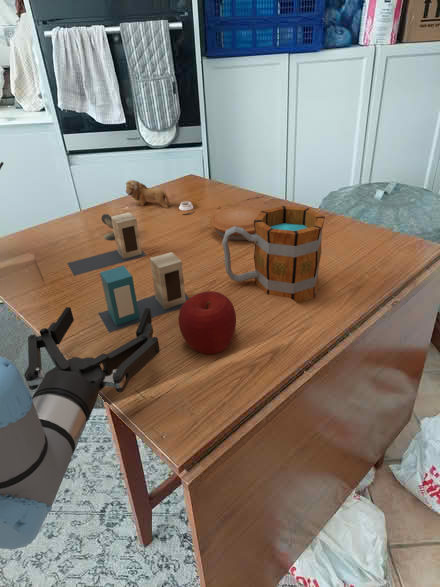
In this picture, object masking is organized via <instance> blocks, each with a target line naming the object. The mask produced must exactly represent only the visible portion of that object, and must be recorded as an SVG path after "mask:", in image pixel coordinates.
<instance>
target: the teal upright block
mask: <svg viewBox="0 0 440 587" xmlns="http://www.w3.org/2000/svg"><path fill="white" fill-rule="evenodd" d="M99 276H100V280H101V284H102V289H103V293H104V298H105V302H106V307H107V310H108V311H109V314H110V316H111V318H112V319H113V321H114V323H115V324H116V325H120V324H123V323H125V322H128V321H131V320H134V319H137V318H140V317H139V311H138V306H137V301H138V300H137V295H136V290H135V283H134V277H133V275H132V274H131V273H130V271H129V270H128V269H127V268H126V266H125V265H121V266H117V267H114V268H110V269H107V270H103V271H100V272H99Z"/></svg>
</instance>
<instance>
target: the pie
mask: <svg viewBox="0 0 440 587" xmlns="http://www.w3.org/2000/svg"><path fill="white" fill-rule="evenodd" d="M261 211H262V210H260V209H258V208H256V207H251V206H232V207H227V208H224V209H221V210H219V211H217V212H215V213H214V214H212V215H211V217H210V219H209V222H210V225H211V226H212V227H213V228H214V229H215V231H216V232H217V233H218V234H219V236H220V237H221V238H222V239H223V238H224V235H225V232H226V230H228V229H230V228H232V227H234V226H236V227H240V228H243V229H244V230H245V231H247V232H248V233H249V234H251V235H255V227H254V220H255V219H256V217H257V216H258V215H259V213H260V212H261ZM228 241H235V242H244V241H248V240H247V239H246V238H244V237H243V236H242V235H241V234H238V233H234V234H232V235H230V236H229V238H228Z"/></svg>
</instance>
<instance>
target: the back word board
mask: <svg viewBox="0 0 440 587" xmlns="http://www.w3.org/2000/svg"><path fill="white" fill-rule="evenodd" d="M141 251H142V254H141V255H137V256H133V257H130V258H126V259H123V258H122V256H121V255H120V254H119V253H118V251H117V249H114V250H110V251H107V252H103V253H100V254H96V255H92V256H88V257H84V258H80V259H77V260H73V261H69V262H67V263H66V264H67V266H68V267H69V269H70V271H71V274H72V275H73V276H75V277H76V276H79V275H83V274H86V273H89V272H93V271H97V270H100V269H105V268H108V267H111V266H114V265H120V264H122V263H125V262H130V261H133V260H136V259H140V258H143V257H146V256H147V254H146V253H145V252H144V251H143V249H141Z"/></svg>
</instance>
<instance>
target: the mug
mask: <svg viewBox="0 0 440 587" xmlns="http://www.w3.org/2000/svg"><path fill="white" fill-rule="evenodd" d="M260 211H261V212H260V213H259V215H258V216H257V217H256V219H255V220H254V227H255V235H251V234H249V233H248V232H247V231H245V230H244V229H243V228H240V227H236V226H234V227H232V228H230V229H228V230H226V232H225V235H224V238H223V237H222V241H221V243H222V248H223V255H224V256H223V257H224V267H225V272H226V274H227V275H228V277H229V279H230V280H231V281H234V282H237V283H241V282H244V281H249V280H252V279H254V284H256V286H258V287H259V288H260V289H261V290H262V291H263V292H264V293H265V294H266V295H270V296H275V297H282V298H288V299H291V300H293V301H294V302H295V303H297V304H300V303H303V302H306V301H309V300H313V299H315V298H316V295H317V291H318V288H319V269H320V262H321V257H322V236H323V228H324V223H325V218H326V217H325V216H323V215H322V214H320V213H318V212H316V211H315V210H313V209H311V208H309V207H299V206H287V205H282V206H278V207H274V208H268V209H264V210H260ZM234 233H238V234H241V235H242V236H243V237H244V238H246V239H247V240H246V241H248V242H250V243H251V242H253V243H254V252H253V260H254V270H252V271H247V272H244V273H241V274H236V273H233V270H232V263H231V261H232V260H231V252H230V246H229V240H228V238H229V236H230V235H232V234H234Z"/></svg>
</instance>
